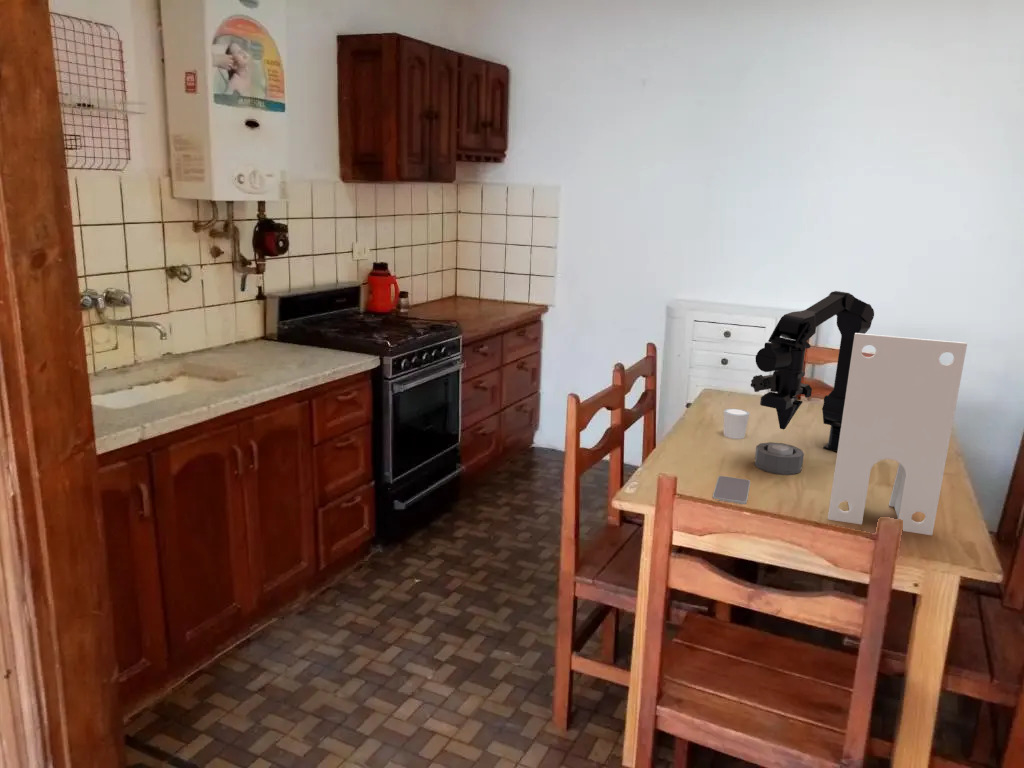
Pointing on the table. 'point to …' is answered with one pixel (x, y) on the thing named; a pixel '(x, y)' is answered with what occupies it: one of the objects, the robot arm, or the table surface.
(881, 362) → the white bracket plate
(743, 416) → the white cylinder
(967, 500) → the table surface
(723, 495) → the grey square plate
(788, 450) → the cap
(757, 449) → the grey ring
